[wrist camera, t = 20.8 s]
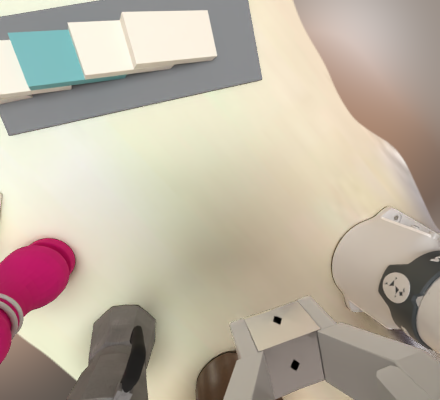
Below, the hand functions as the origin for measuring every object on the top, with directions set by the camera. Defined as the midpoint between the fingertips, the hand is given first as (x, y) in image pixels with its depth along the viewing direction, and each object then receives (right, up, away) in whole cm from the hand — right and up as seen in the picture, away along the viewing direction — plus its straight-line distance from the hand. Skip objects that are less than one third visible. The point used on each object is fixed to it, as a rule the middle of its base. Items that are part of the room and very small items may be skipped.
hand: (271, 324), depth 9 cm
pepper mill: (-24, -4, +26) cm, 36 cm away
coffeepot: (-15, -14, +30) cm, 37 cm away
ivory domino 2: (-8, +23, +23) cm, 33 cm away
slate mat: (-13, +22, +23) cm, 34 cm away
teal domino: (-14, +21, +22) cm, 34 cm away
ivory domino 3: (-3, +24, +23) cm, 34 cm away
